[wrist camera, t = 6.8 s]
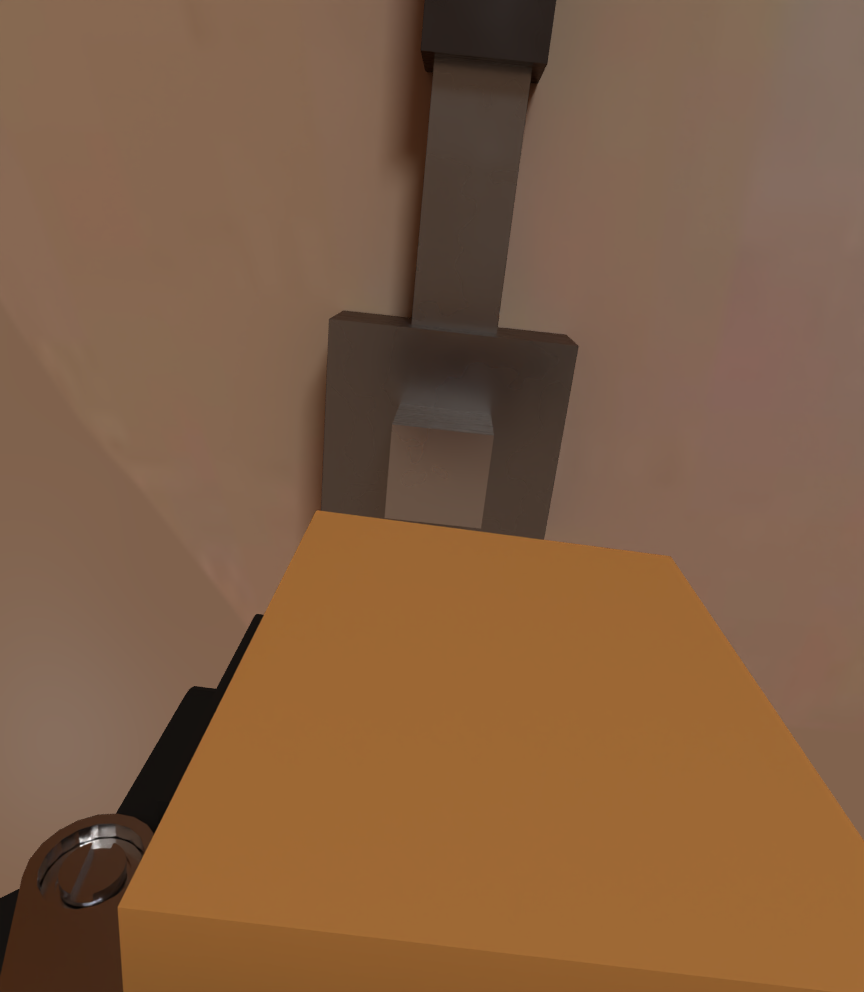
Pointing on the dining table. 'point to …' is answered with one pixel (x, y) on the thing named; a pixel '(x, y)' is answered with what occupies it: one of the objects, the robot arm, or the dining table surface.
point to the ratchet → (456, 312)
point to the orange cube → (493, 790)
